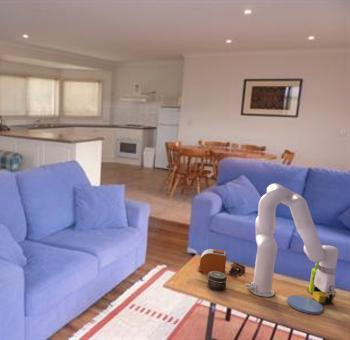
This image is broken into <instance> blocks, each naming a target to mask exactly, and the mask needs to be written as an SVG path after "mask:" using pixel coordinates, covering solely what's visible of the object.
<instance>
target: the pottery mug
mask: <svg viewBox="0 0 350 340" xmlns="http://www.w3.org/2000/svg"><path fill="white" fill-rule="evenodd" d="M245 274H246V266H244V265H243V264H240V263H239V262H236V261H233V262H232V263H231V264H230V269H229V270H228V275H230V276H231V277H235V278H237V276H238V277H242V276H243V275H245Z"/></svg>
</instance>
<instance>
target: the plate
mask: <svg viewBox="0 0 350 340" xmlns="http://www.w3.org/2000/svg"><path fill="white" fill-rule="evenodd" d="M287 304H288V305H289V306H290V307H291V308H293V309H294V310H297V311H299V312H302V313H306V314H313V315H317V314H322V312H323V311H324V308H323V304H320V303H318V302H317V301H315V300H313V298H310V297H307V296H303V295H290V296H288V297H287Z"/></svg>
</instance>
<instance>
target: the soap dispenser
mask: <svg viewBox="0 0 350 340" xmlns="http://www.w3.org/2000/svg"><path fill="white" fill-rule="evenodd" d="M314 263H315V264H314V267H312V268H311V271H310V272H311V273H310V280H309V284H308V292H309V293H310V294H312V295H313V292H314V283H313V282H314V281H313V277H315V275H316V271H317V269H318V268H319V262H314ZM320 292H322V291H321V290H320Z"/></svg>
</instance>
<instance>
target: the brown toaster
mask: <svg viewBox="0 0 350 340" xmlns="http://www.w3.org/2000/svg"><path fill="white" fill-rule="evenodd" d="M227 252H228V251H226V250H221V249H215V248H208V249H205V250H204V251H203V252H202V253H201V256H200V259H199V267H198V272H201V273H205V274H206V273H207V274H209V272H211V271H219V272H222V273H224V274H225V275H226V273H225V272H226V263H227V255H228V253H227Z"/></svg>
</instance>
